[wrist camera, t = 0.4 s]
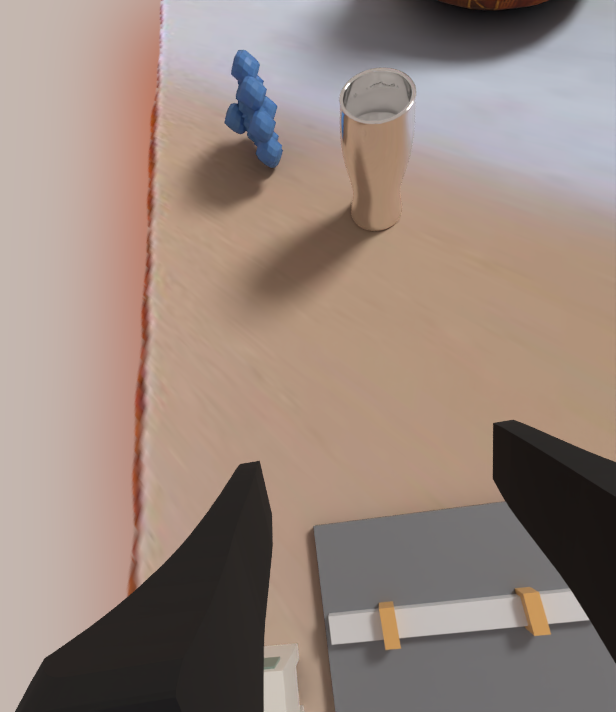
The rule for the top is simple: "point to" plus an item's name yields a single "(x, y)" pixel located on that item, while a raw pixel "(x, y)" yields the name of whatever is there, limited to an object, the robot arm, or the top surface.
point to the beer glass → (377, 142)
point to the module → (281, 678)
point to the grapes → (254, 110)
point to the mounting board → (455, 618)
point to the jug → (493, 4)
